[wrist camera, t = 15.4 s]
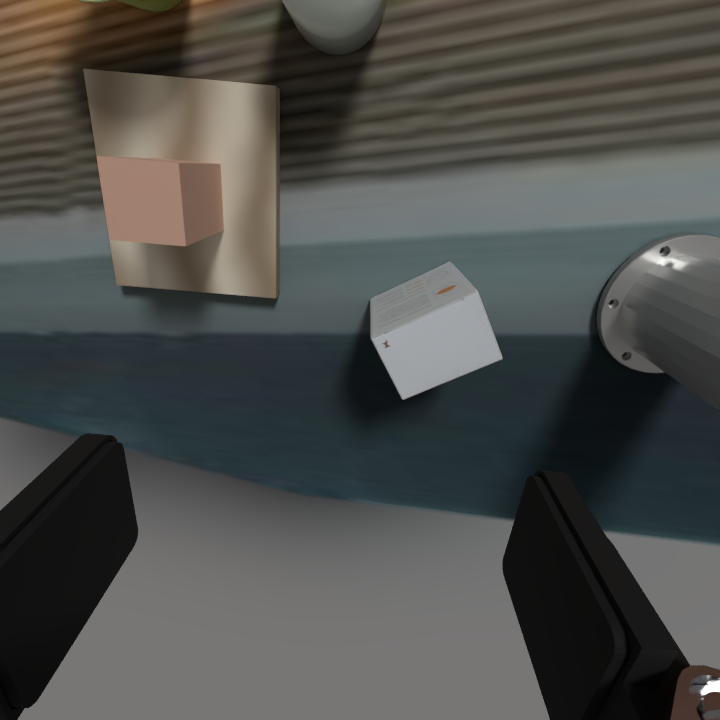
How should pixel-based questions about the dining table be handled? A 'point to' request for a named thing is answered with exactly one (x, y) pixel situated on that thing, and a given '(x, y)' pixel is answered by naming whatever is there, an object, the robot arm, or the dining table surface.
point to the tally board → (199, 144)
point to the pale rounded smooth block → (336, 22)
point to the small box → (431, 330)
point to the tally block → (161, 199)
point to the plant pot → (144, 4)
